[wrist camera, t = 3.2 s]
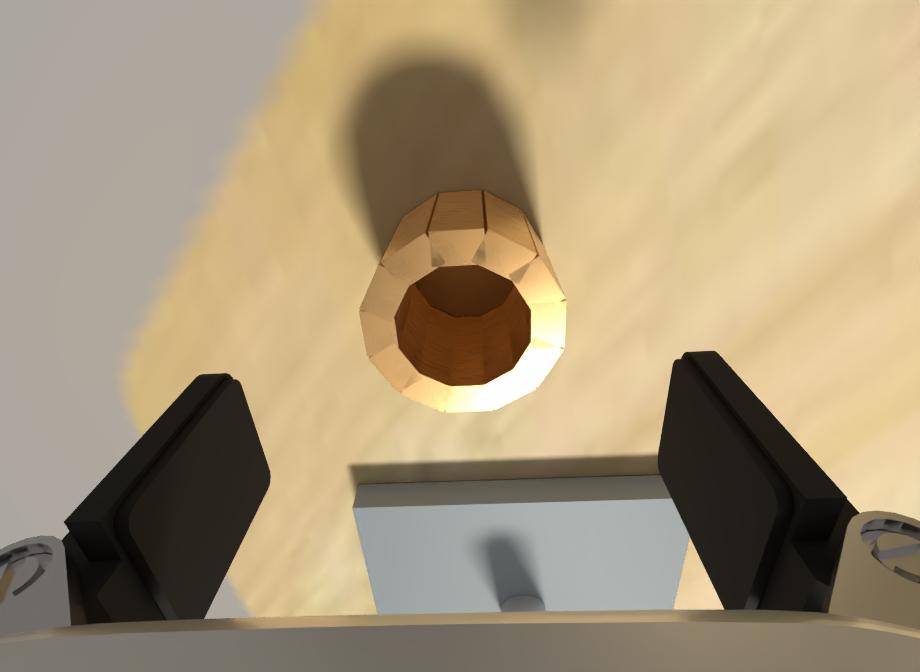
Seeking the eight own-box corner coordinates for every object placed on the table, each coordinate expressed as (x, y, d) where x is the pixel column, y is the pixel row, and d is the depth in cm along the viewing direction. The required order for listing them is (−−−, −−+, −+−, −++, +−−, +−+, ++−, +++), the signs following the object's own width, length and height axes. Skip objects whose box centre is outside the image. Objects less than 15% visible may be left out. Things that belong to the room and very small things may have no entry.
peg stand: (685, 474, 23) (769, 630, 17) (647, 661, 31) (694, 820, 24) (359, 484, 24) (316, 637, 18) (399, 664, 32) (379, 818, 25)
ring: (544, 185, 17) (569, 223, 13) (542, 334, 20) (562, 407, 16) (377, 196, 18) (345, 236, 13) (398, 341, 20) (377, 415, 16)
